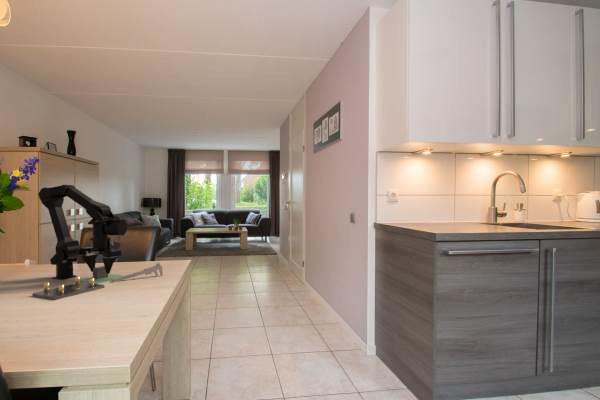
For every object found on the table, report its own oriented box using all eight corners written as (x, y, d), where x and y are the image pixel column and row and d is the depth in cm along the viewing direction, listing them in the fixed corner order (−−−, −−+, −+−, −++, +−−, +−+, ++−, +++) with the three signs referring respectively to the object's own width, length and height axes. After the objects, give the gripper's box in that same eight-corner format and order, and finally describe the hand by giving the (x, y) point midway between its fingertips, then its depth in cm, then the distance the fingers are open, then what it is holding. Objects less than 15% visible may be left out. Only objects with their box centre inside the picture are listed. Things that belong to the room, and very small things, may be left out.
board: (75, 283, 142) (75, 269, 142) (106, 276, 155) (106, 263, 155) (93, 285, 138) (93, 271, 138) (124, 278, 151) (124, 265, 151)
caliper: (161, 276, 154) (161, 261, 154) (162, 276, 153) (162, 262, 153) (109, 282, 142) (109, 267, 142) (110, 283, 141) (110, 267, 141)
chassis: (32, 296, 121) (32, 284, 121) (82, 284, 137) (82, 274, 137) (54, 300, 116) (54, 287, 116) (104, 287, 133) (104, 277, 133)
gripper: (132, 234, 150) (132, 270, 150) (102, 232, 158) (102, 267, 158) (109, 236, 140) (109, 276, 140) (78, 235, 147) (78, 272, 147)
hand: (100, 272), depth 146 cm, fingers open, 9 cm apart
